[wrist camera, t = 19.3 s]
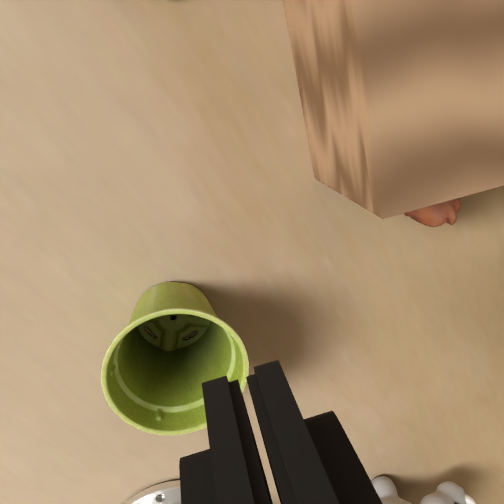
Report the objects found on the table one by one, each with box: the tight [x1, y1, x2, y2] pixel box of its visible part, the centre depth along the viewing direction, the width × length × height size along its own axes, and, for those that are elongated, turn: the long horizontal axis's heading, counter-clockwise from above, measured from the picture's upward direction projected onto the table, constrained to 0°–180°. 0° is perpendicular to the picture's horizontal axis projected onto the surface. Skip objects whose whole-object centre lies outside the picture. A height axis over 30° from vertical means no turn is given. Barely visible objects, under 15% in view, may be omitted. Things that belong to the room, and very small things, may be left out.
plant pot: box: [101, 282, 249, 435], centre depth 35 cm, size 9×9×9 cm
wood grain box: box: [283, 0, 504, 219], centre depth 29 cm, size 15×12×12 cm
